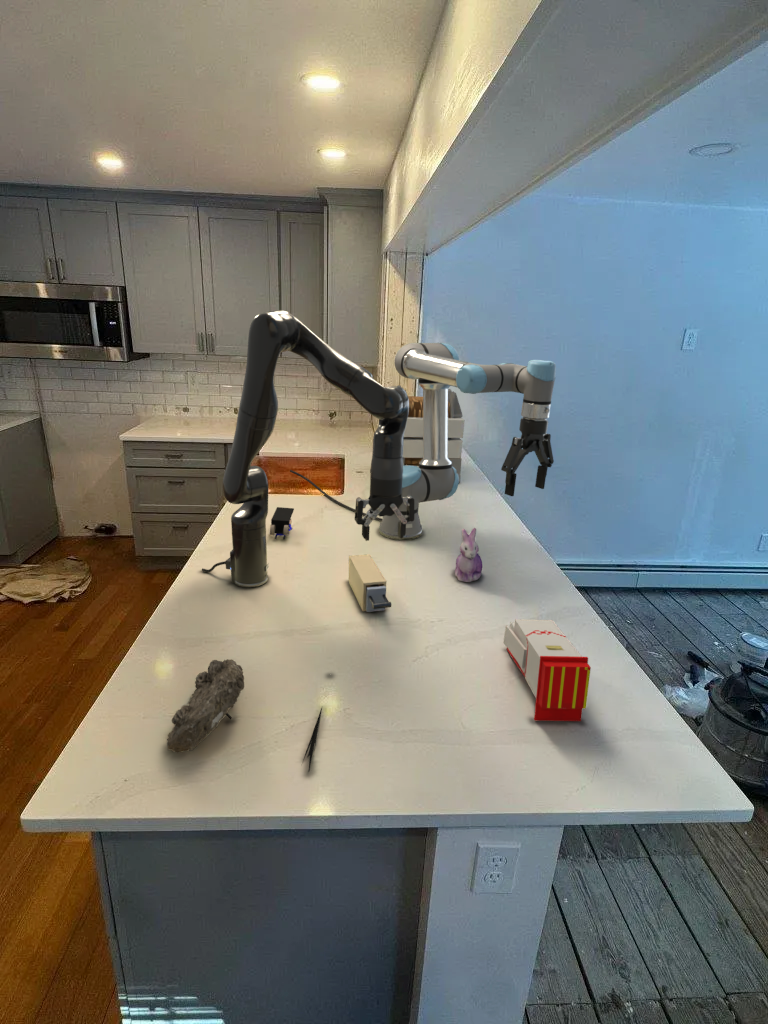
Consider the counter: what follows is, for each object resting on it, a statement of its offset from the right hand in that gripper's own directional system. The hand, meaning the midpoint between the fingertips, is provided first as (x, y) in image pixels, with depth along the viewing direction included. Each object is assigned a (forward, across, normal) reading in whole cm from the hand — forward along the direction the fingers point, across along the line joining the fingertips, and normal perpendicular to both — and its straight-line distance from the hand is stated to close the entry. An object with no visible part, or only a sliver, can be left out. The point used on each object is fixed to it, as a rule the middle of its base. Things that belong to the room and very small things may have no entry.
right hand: (524, 491), depth 164 cm
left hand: (+4, -50, +2) cm, 50 cm away
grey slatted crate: (+27, +48, +100) cm, 114 cm away
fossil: (+26, -99, -10) cm, 103 cm away
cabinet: (+27, -46, +14) cm, 55 cm away
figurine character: (+27, -44, +65) cm, 83 cm away
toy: (+26, -37, -38) cm, 59 cm away
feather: (+26, -82, -22) cm, 89 cm away
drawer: (+26, -48, +9) cm, 55 cm away
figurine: (+27, -13, +6) cm, 30 cm away
